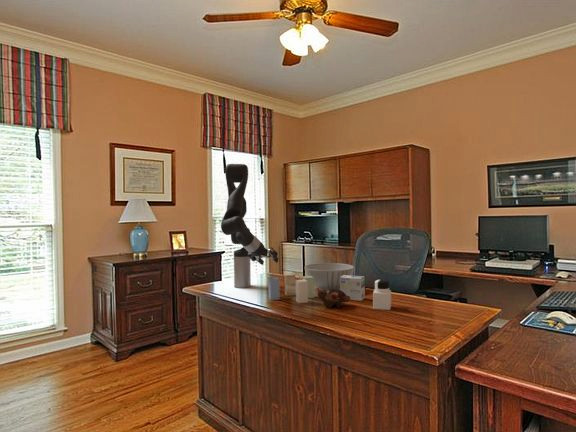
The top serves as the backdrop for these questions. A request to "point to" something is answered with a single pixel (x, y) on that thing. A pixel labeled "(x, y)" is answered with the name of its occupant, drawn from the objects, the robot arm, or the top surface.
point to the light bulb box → (353, 287)
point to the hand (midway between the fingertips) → (270, 262)
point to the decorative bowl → (328, 274)
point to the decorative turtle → (333, 297)
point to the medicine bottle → (382, 295)
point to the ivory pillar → (302, 291)
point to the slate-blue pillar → (273, 288)
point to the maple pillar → (290, 284)
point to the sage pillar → (310, 285)
